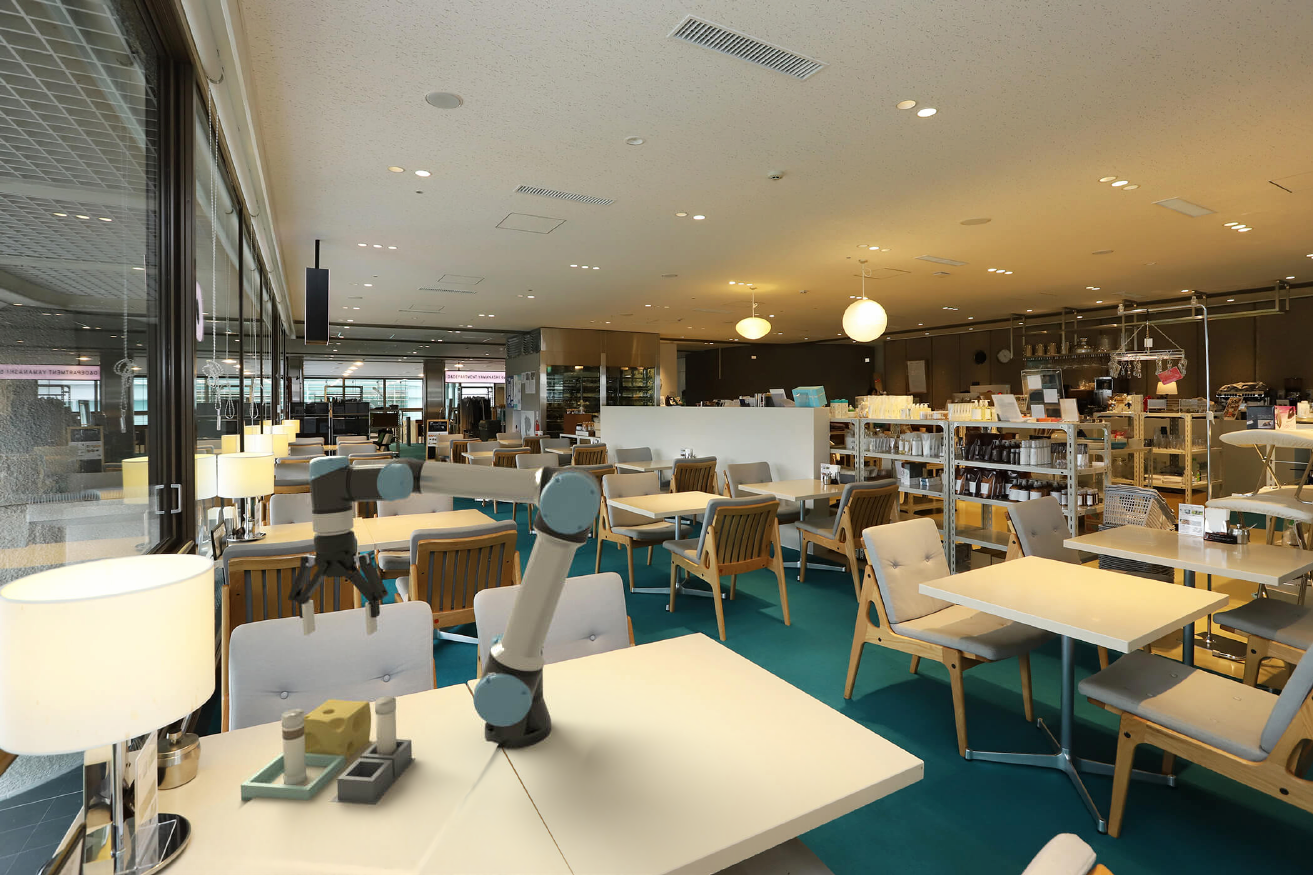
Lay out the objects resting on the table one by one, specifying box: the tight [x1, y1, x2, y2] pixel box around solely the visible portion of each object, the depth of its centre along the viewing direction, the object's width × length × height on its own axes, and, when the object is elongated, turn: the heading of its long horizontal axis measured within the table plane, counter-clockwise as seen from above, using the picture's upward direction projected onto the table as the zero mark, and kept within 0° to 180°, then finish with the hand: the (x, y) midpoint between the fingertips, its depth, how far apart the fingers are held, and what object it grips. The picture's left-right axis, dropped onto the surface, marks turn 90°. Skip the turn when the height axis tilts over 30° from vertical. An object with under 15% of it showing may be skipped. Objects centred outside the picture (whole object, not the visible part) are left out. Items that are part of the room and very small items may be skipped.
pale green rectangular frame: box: [240, 751, 346, 801], centre depth 132 cm, size 14×12×3 cm
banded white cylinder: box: [280, 708, 308, 786], centre depth 131 cm, size 4×4×14 cm
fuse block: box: [330, 696, 416, 806], centre depth 132 cm, size 9×16×15 cm, turn 173°
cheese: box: [304, 698, 372, 762], centre depth 143 cm, size 10×11×10 cm
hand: (340, 632), depth 136 cm, fingers open, 13 cm apart
